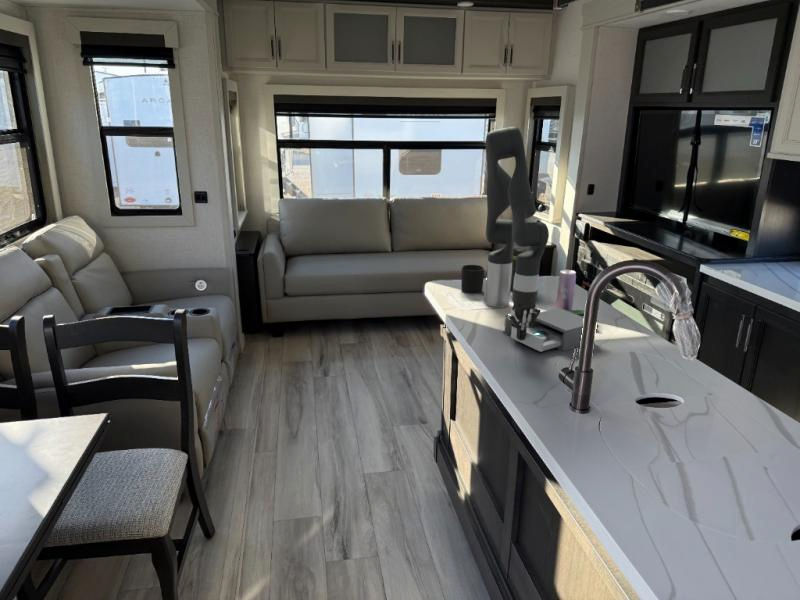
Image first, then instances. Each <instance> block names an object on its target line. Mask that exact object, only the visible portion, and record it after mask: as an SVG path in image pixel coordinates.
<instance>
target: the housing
mask: <svg viewBox="0 0 800 600" xmlns="http://www.w3.org/2000/svg"><path fill="white" fill-rule="evenodd" d="M583 318H584V317H581V316H579V315H576V314H573V313H571V312H568V311H566V310H563V309H561V308H556V307H555V308H551V309H549V310H548V309H547V310H545V311H540V313H539V315H538V317H537V318H536V320H535V321H534V323H533V325H532V326H529V327H528V329H529V328H533V327H537V326H542V327H544V328H547V329H549V330H551V331H554V332H556V333H558V334H560V335H563V341H562V345H561V346H558V347H555V348H557V349H559V350H561V351H563V352H565V351H569V350H572V348H573V347H576V348H578V346H579V347H581V346H580V341H581V335H582V328H583ZM531 319H532V318H531ZM530 321H531V320H530ZM573 349H574V348H573Z"/></svg>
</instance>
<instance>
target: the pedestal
mask: <svg viewBox="0 0 800 600" xmlns="http://www.w3.org/2000/svg"><path fill="white" fill-rule="evenodd" d="M504 320H505V321H504V330H503V332H504V334H505V335H507V334H508V336H511V330H512V325H511V324H510V322H509V321H508V319H507V318H506V317H505V319H504Z"/></svg>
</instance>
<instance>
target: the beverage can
mask: <svg viewBox="0 0 800 600" xmlns="http://www.w3.org/2000/svg"><path fill="white" fill-rule="evenodd" d="M576 274H577V272H576V271H575V270H572V269H561V270H559V276H558V285H557V292H556V293H557V294H556V295H557V296H556V302H555V309H556V308H561V309H563V310H573V304H574V298H575V297H574V296H575V295H574V294H575V288H576V281H577V280H576V279H577V275H576Z"/></svg>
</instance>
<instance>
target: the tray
mask: <svg viewBox="0 0 800 600" xmlns="http://www.w3.org/2000/svg"><path fill="white" fill-rule="evenodd" d="M535 330H540V331H545V332H547V333H549V340H548V341H546V342H544V338H541V337H539V336H537V335H535V334H533V333H530V332H531V331H535ZM516 335H517V329H516V328H514V327H512V330H511V335H510V338H511V339H513V340H515V341H517V342H519V343H521V344H523V345H525V346H528V347H529V348H532V349H534V350H536V351H538V352H544V351H547V350H551V349H554V348H556V347H558V346H561V345H562V341H563V335H560V334H558V333H556V332H554V331H551V330H549V329H547V328H544V327H542V326H537V327H533V328H529V329H527V332H526V338H525V340H522V341H520V340H518V339H517V337H516Z"/></svg>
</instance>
